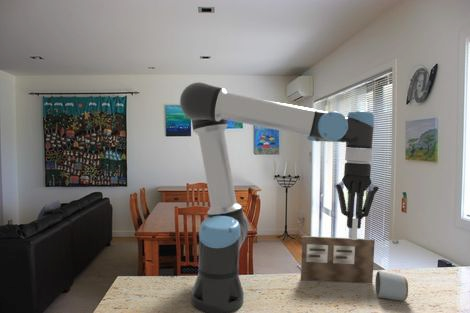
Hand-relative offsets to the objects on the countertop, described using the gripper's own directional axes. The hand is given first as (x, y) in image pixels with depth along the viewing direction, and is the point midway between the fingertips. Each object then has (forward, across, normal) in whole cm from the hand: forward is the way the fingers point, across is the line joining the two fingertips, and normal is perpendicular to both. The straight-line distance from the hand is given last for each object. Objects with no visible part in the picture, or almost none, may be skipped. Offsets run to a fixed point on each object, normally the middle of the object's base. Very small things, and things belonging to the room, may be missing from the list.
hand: (352, 238), depth 98 cm
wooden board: (+18, +2, -9) cm, 20 cm away
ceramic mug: (+18, -12, -1) cm, 22 cm away
